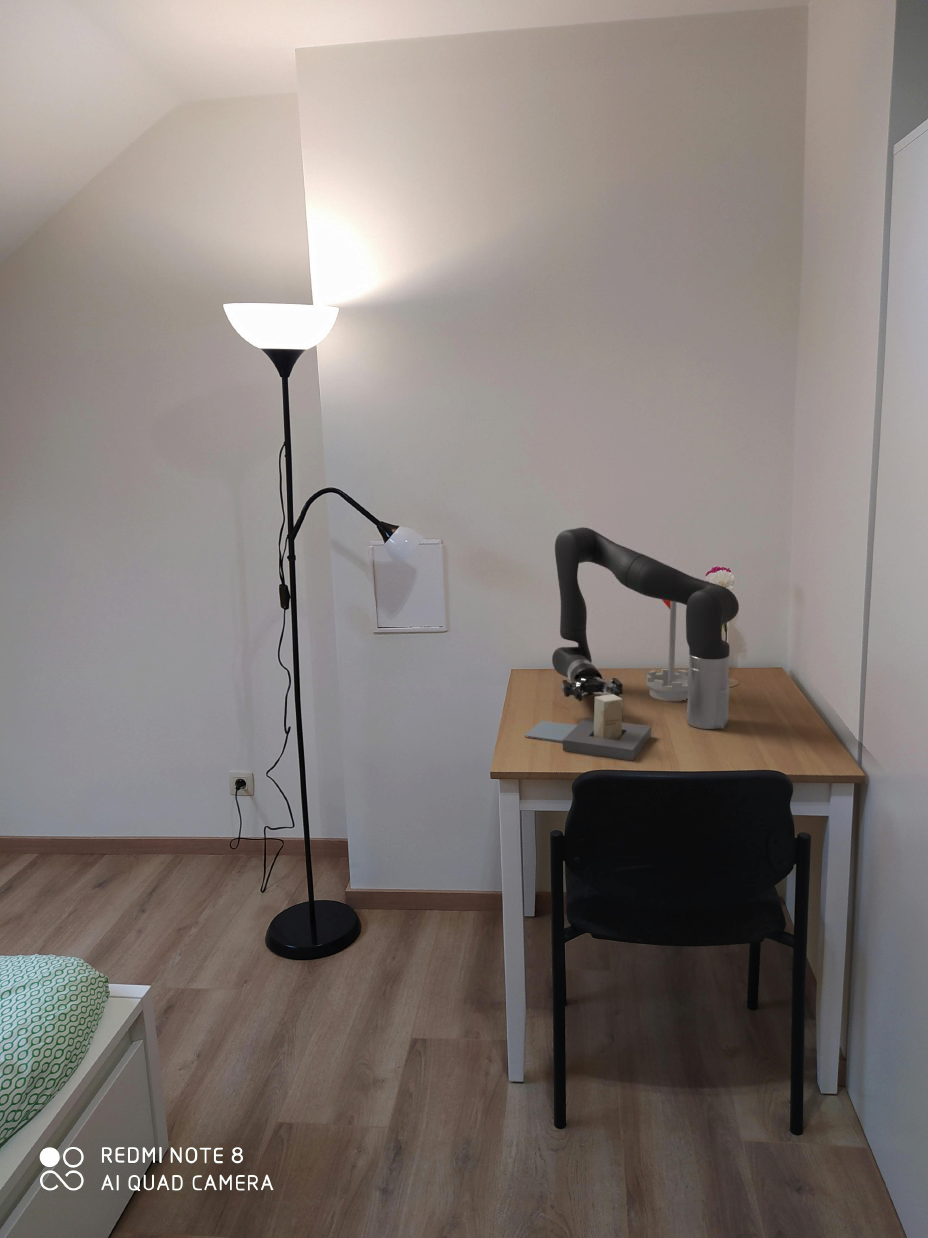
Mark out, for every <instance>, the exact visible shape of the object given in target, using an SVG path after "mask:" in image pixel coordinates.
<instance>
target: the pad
mask: <svg viewBox="0 0 928 1238" xmlns="http://www.w3.org/2000/svg"><path fill="white" fill-rule="evenodd" d="M577 725H578V724H577ZM577 725H576V724H568V723H563V722H562V723H560V722H553V721H545V720H540V721H539V722H538V723H537V724H536V725H534V726H533V727H532V728H531V729H530V730H529V731H527V733H525V735H524V737H525V736H528V737H533V738H539V739H544V740H543V741H546V740H549V741H548V742H553V741H556V742H555V743H561V744H563V739H564V738H565V737H566V736H567V735H568V734H569V733H570V732H571V731H572V730H573V729H574V728H575V727H576V726H577ZM539 739H538V740H539Z"/></svg>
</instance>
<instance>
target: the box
mask: <svg viewBox="0 0 928 1238" xmlns="http://www.w3.org/2000/svg"><path fill="white" fill-rule="evenodd" d="M623 701H624V699H623V698H622V697H620V696H619V697H618V696H616V695H614V694H610V695H609V694H608V695H597V696H594V710H593V711H594V713H593V719H594V737H599V738H606V739H613V740H619V739H620V738H621V734H622V723H623V705H624V704H623V703H624V702H623Z"/></svg>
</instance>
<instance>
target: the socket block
mask: <svg viewBox="0 0 928 1238" xmlns="http://www.w3.org/2000/svg"><path fill="white" fill-rule="evenodd" d="M651 737H652V726H650V725H643V724H633V723H627V722H622V734H621V738H620V739H619V740H613V739H606V738H599V737H594V718H588V717H585V718H584V719H582V721H580V722H579V723H578V724H577V726H576V727H575V728H574V729H573V730H572V731H571V732H570V733H569V734H568V735H567V736H566V737H565V738H564V739H563V743H562V751H563V750H565V751H564V752H570V751H571V752H572V753H577V754H584V755H591V756H597V757H598V756H599V757H606V758H613V759H619V760H626V761H634V760H635V758H636V757H637V756H638V754H639V753H640V751H641V750H642V749H643V748H644V747H645V746H646V743H648V741H649V740H650V739H651Z"/></svg>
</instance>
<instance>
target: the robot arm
mask: <svg viewBox="0 0 928 1238" xmlns="http://www.w3.org/2000/svg"><path fill="white" fill-rule="evenodd" d="M554 556H555V562H556V563H555V565H556V571H557V578H558V579H557V580H558V581H557V582H558V588H559V596H560V597H559V598H560V619H559V622H560V623H559V625H560V626H559V635H560V637H561V638H562V639H564V640H567V641H571V642H575V643H577V646H561V647H558V648H556V649H555V650H554V652H553V654H552V657H551V661H552V666H553V669H554V670H555V671H556V673H558V674H559V675H561V676H563V677H565V678H568V680H569V681H568V680H566V679H562V681H561V683H562V688H561V689H562V692H563V696H564V697H567V698H568V697H570V696H572V698H574V699H575V700H577V701H578V702H582V701H583V697H590V696H594V695H598V694H599V695H601V696H603V695H610V694H614V695H616V696H618V697H620V696H621V695H623V685H624V684H623V683H622V682H621V681H620V680H619V679H618V678H617V677H612V678H611V680H610V681H609V680H606V678H605V679H604V678H603V676H602V674H601V673H600V671H599V670H598V669H597V667H596V666H595V664H593V663H592V662H593V660H592V655H591V654H592V653H591V651H590V648H589V644H588V638H587V637H588V636H587V623H588V622H587V620H588V618H587V617H588V612H587V611H588V609H587V604H586V601H585V598H584V596H583V593H582V590H581V588H580V585H579V579H578V573H579V571H578V570H579V564H582V563H593V564H596V565H599V566H600V567H604V568H605V569H607V570H608V571H610V572H611V573H612V574H613V575H614V577H615V579H616V580H617V581H618V582H619V583H620V584H621V585H623V586H624V587H626V588H628V589H630V590H632V591H634V592H636V593H638V594H640V595H642V596H646V597H650V598H653V599H658V600H668V601H674V602H677V604H678V603H679V604H683V605H684V606H686V607H685V608H686V610H685V637H686V643H687V645H688V650H689V652H688V654H689V655H688V671H689V672H688V700H686V701H687V702H686V704H687V705H686V723H687V724H688V725H689V726H691V727H693V728H698V729H703V730H716V729H719V730H720V729H721V730H724V729H725V728H726V726H727V724H728V722H729V708H730V706H729V704H730V686H731V685H730V684H729V668H730V652H731V651H730V650H731V649H730V644H729V643H728V642H727V640H724V639H723V638H722V625H725V624H727V623H728V622H731V621H732V620H734V618H735V617H736V616H737V614H738V613H739V608H740V607H739V606H740V604H739V601H738V599H737V596H736V595H735V594H734V593H733V591H731V590H730V589H729V588H728V587H725V586H723V585H719V584H717V583H713V582H710V581H707V580H703V579H699V578H697V577H694V576H692V575H689V574H686V573H684V572H683V571H681V570H679V569H677V568H674V567H672V566H670V565H668V564H665V563H663V562H661V561H659V560H657V559H656V558H653V557H650V556H648V555H646V554H644V553H641V552H638V551H635V550H633V549H632V548H629V547H627V546H624V545H621V544H618V543H617V542H614V541H613V540H611V539H609V538H608V537H606V536H604V535H602V534H601V533H599V532H597V531H596V530H594V529H592V528H588V527H577V528H570V529H566V530H563V531H561V532H560V533H558V535H557V536H556V539H555V541H554Z"/></svg>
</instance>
